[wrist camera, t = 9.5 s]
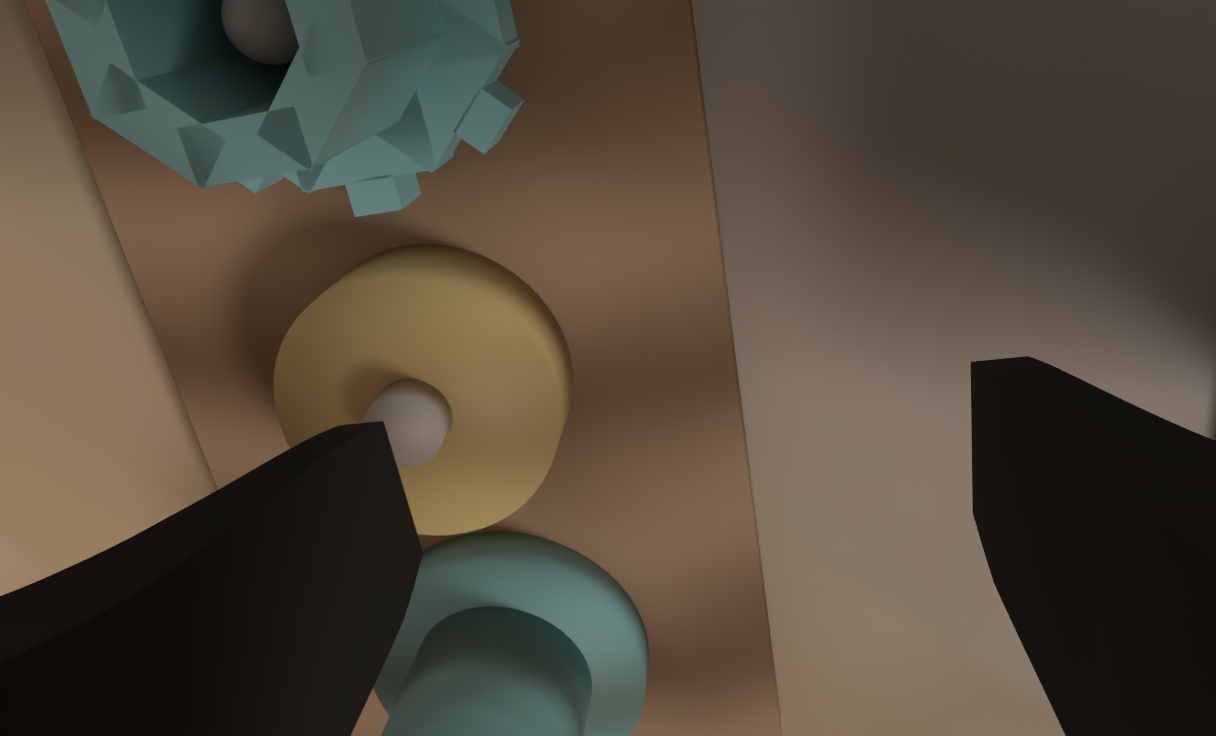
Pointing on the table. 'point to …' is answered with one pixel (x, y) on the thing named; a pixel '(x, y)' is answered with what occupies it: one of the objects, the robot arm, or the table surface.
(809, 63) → the table surface
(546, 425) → the gear carrier
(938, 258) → the table surface
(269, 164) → the gear
